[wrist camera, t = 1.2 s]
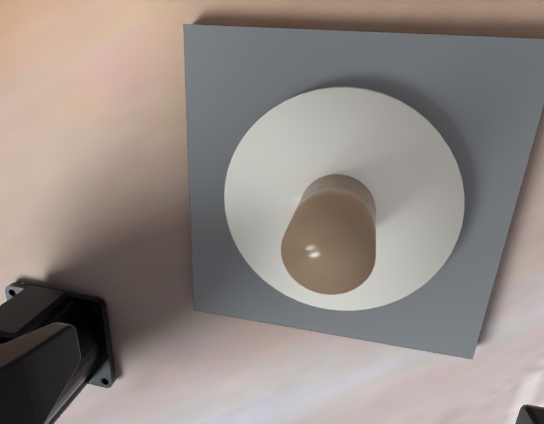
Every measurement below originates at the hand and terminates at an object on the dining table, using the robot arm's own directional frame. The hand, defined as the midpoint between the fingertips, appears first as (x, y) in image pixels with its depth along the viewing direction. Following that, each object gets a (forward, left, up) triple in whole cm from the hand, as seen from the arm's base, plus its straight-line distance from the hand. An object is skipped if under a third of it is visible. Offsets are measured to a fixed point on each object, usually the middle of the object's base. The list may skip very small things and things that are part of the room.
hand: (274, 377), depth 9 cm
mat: (0, 0, -12) cm, 12 cm away
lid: (0, 0, -11) cm, 11 cm away
